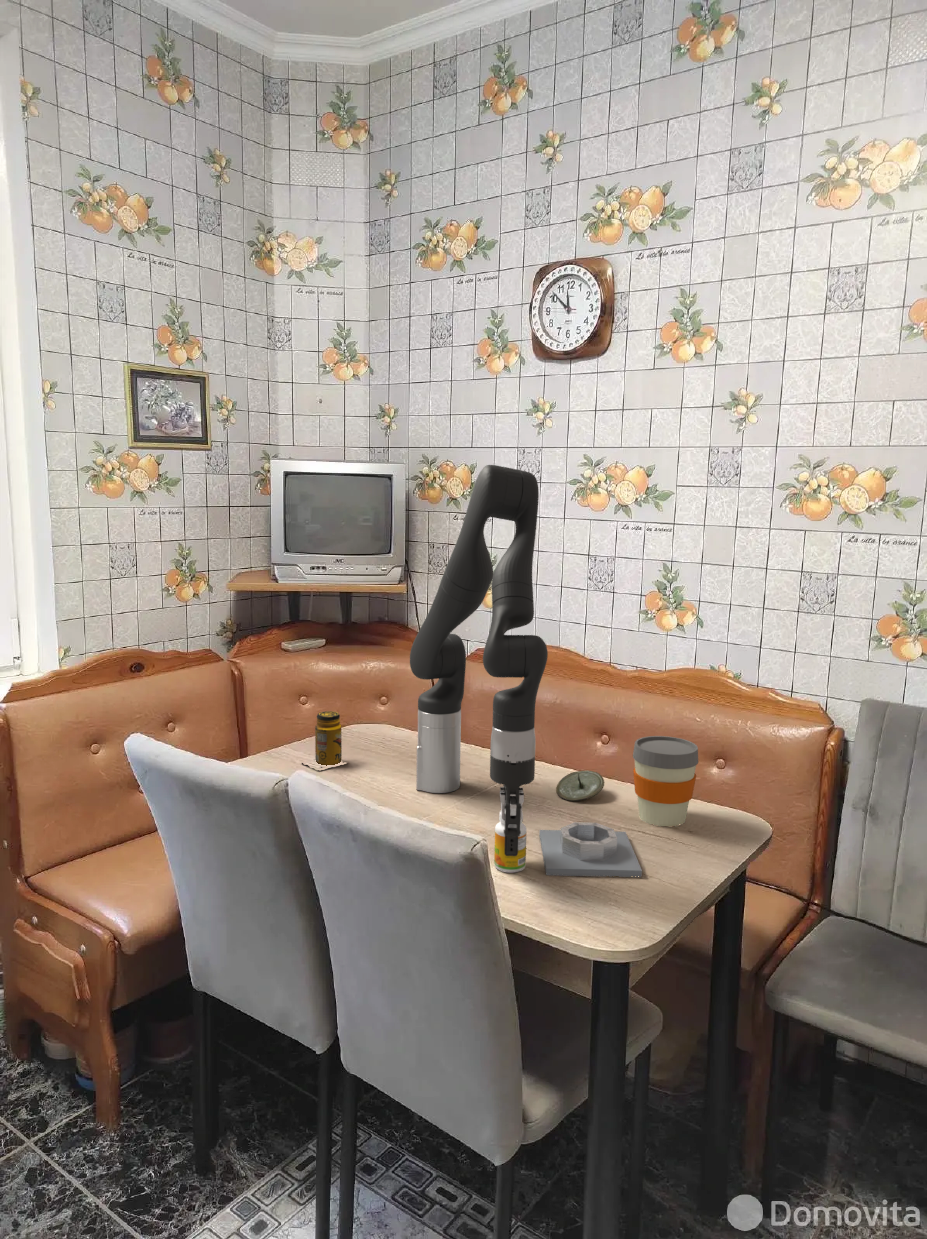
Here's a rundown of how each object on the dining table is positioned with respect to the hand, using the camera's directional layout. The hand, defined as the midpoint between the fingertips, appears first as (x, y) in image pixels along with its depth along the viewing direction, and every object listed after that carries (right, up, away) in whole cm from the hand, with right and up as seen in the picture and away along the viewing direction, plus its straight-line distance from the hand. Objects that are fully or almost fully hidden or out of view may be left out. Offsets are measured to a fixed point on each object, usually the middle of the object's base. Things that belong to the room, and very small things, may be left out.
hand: (510, 847), depth 144 cm
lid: (+17, +2, +35) cm, 39 cm away
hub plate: (+14, -3, +5) cm, 15 cm away
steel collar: (+14, -2, +5) cm, 15 cm away
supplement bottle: (0, -4, +1) cm, 4 cm away
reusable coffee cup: (+31, -1, +23) cm, 39 cm away
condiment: (-40, +5, +52) cm, 66 cm away
